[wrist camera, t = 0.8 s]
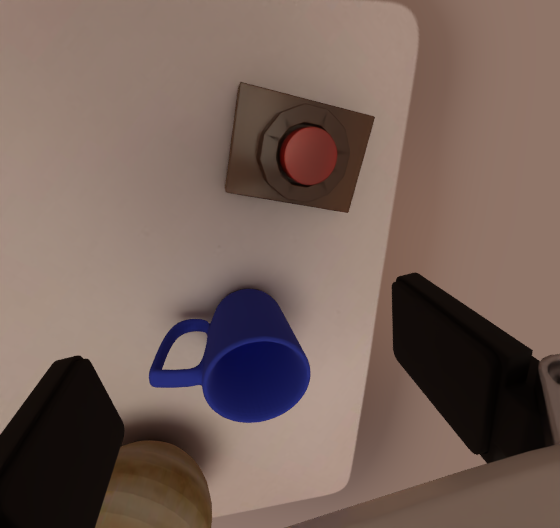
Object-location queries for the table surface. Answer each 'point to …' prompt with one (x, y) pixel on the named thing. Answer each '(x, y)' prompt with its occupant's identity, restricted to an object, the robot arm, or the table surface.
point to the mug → (241, 359)
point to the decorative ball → (155, 489)
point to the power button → (308, 155)
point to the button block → (268, 140)
